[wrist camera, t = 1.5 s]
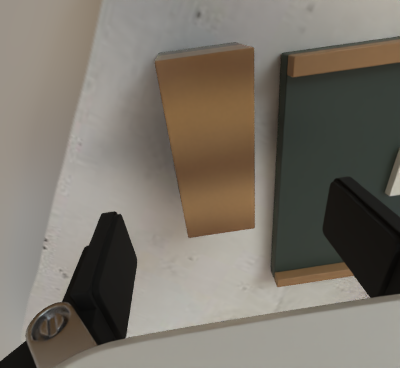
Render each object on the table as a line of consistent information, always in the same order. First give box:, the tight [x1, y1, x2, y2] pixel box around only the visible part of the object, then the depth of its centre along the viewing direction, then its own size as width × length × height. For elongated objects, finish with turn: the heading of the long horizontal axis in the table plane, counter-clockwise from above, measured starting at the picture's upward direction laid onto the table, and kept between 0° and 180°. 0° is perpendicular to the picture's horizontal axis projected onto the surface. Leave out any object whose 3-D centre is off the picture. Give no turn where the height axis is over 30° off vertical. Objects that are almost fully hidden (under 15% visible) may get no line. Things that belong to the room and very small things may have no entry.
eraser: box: [155, 42, 255, 238], centre depth 18 cm, size 12×5×4 cm, turn 7°
